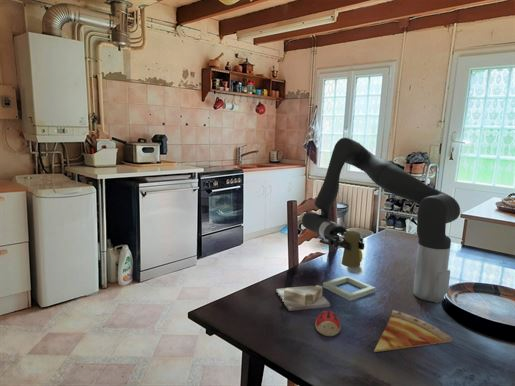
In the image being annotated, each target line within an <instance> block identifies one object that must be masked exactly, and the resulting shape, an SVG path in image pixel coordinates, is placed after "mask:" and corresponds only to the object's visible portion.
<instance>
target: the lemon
mask: <svg viewBox="0 0 515 386" xmlns="http://www.w3.org/2000/svg"><path fill="white" fill-rule="evenodd" d="M362 251H363V250H361V249H359V255H360V263H362V260H363V252H362Z"/></svg>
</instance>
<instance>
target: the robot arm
mask: <svg viewBox="0 0 515 386" xmlns="http://www.w3.org/2000/svg"><path fill="white" fill-rule="evenodd" d="M345 164H347V165H350V166H353V167H354V168H357V169H359V170H361V171H362V172H364V173H365V174H366V175H367V176H368V177H369V178H370V179H371V181H372V182H373V183H374V184H376V185H377V186H378V187H380V188H381V189H383V190H384V191H385V192H387V193H389V194H391V195H394V196H397V197H399V198H403V199H405V200H407V201H411V202H412V203H415V204H418V208H417V216H416V218H417V219H416V221H417V222H416V234H417V235H416V236H417V238H418V241H417V242H418V243H417V251H416V260H415V261H416V262H415V270H414V280H413V291H412V293H413V295H414V296H415V297H417V298H419V299H421V300H423V301H428V302H433V303H435V304H438V303H440V302H443V301H444V300H443V299H444V295H445V294H446V293H448V294H449V287H450V278H451V270H450V269H449V262H450V261H449V260H450V254H451V246H452V240H451V238H450V236H448V235H446V228H447V224H450V223H452V222H455V221H456V220H457V219H458V218H459V217H460V214H461V207H460V204H459V203H458V201H457V200H456V199H455V198H454V197H452V195H449V194H446V193H445V192H443V191H442V190H441V191H440V190H438V189H436V188H435V187H434V188H433V187H432V186H430V185H428V184H426V183H425V182H423V181H422V180H420V179H418V178H416V177H415V176H413V175H412V174H410V173H408V172H407V171H405V170H404V169H403V168H401V167H399V166H398V165H396V164H394V163H392V161H391V162H390V161H389V160H386V159H383V158H382V157H379V156H376V155H374V153H372V152H370V151H369V150H368V149H367V148H366V147H365V146H364V145H362V144H361V143H360V142H357V140H354V139H351V138H349V137H342V138H340V139H338V140H337V142H335V144H334V148H333V150H332V153H331V157H330V159H329V163H328V166H327V170H326V174H325V176H324V180H323V182H322V185H321V188H320V190H319V192H318V194H317V196H316V198H315V200H314V206H315V207H316V208H317V209H319V210H320V214H319V213H316V212H313V211H306V212H305V213H304V214H303V216H302V217H301V224H302V226H303V227H304V228H305V229H306V230H308V231H311V232H313V233H316V234H317V235H318V236H319V237H321V238H322V239H323V240H324V241H323V243H324V244H325V245H328V246H330V247H332V248H335V249H336V248H339V247H340V249H343V250H344V249H346V250H348V251H350V250H351V244H349V243H348V242H346V241H345V238H344V235H345V233H346V232H347V231H348V230H347V229H346V228H345V227H344V226H343V225H341V224H339V223H337V222H335V221H332V220H330V215H331V211H332V207H333V205H334V203H335V200H336V199H337V197H338V194H339V189H340V176H341V172H342V170H343V167H344V165H345ZM359 249H360V250H361V251H363V250H364V249H365V243H364V238H363V236H362V235H361V239H360V241H359ZM442 300H443V301H442Z"/></svg>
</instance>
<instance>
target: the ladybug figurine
mask: <svg viewBox="0 0 515 386" xmlns="http://www.w3.org/2000/svg"><path fill="white" fill-rule="evenodd" d="M314 326H315V329H316V330H317V332H318V333H319V334H321V335H322V336H326V337H334V336H337V335H338V334H339V333H340V331H341V328H342V327H341V323H340V319H339V318H338V316H337V315H336V313H334V312H333V311H331V310H324V311H321V313H319V315H318V316H317V317H316V319H315V325H314Z"/></svg>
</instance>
